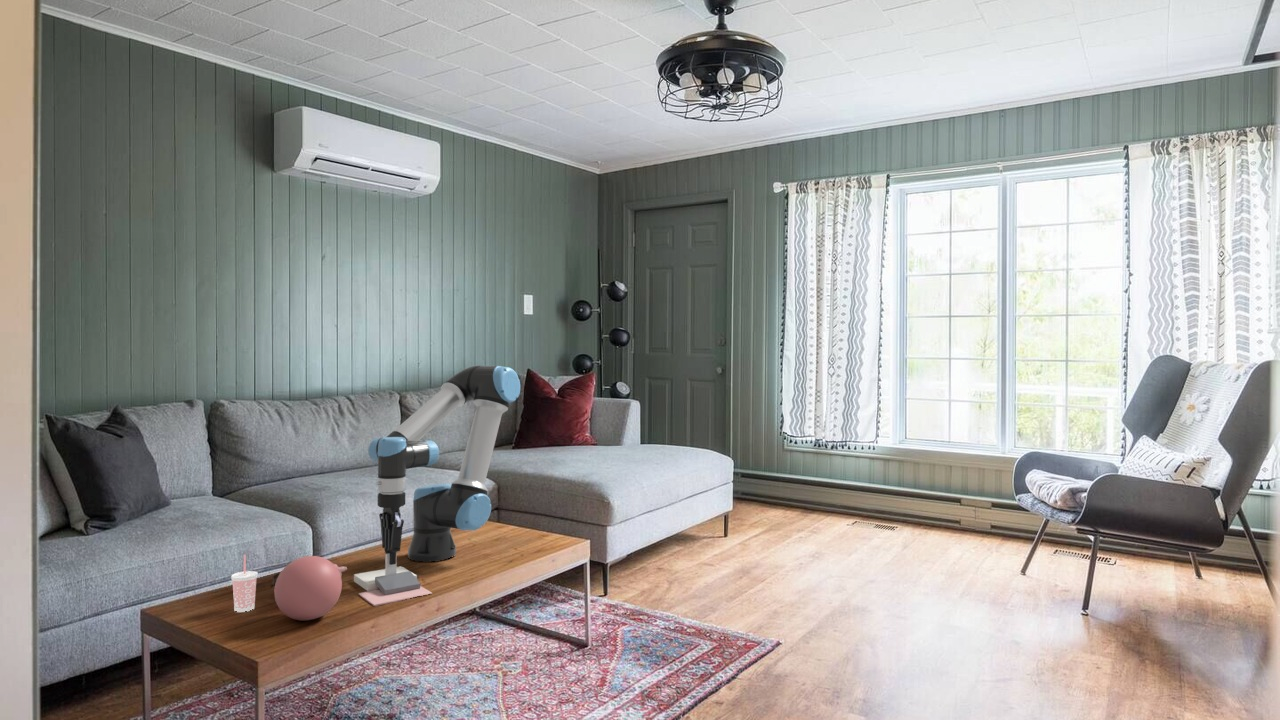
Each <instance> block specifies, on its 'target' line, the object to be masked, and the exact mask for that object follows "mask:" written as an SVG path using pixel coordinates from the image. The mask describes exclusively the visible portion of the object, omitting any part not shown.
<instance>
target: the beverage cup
mask: <svg viewBox="0 0 1280 720" xmlns="http://www.w3.org/2000/svg"><path fill="white" fill-rule="evenodd" d="M246 556H247V555H246V554H243V571H239V572H235V573H233V574H232V575H231V577H230V579H231V581H232V591H233V609H234V612H235V611H237V612H236V613H246V612H245V611H247V612H250V610H251V611H253V610H255V604H256V603H255V602H256V591H257V578H258V574H259V573H258V571H253V570H248V571H247V569H246V568H247V566H246V563H247V562H246V561H247V558H246ZM252 609H253V610H252Z"/></svg>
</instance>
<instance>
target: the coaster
mask: <svg viewBox="0 0 1280 720" xmlns="http://www.w3.org/2000/svg"><path fill="white" fill-rule="evenodd" d="M411 572H412V571H410V570H409V571H407V572H401V573H396V574H390V575H384V576H379V577H375V583H376V584H377V586H378V587H379V588H380V590H381V591H382V592H383V594H384V595H389V594H395V593H400V592H405V591H410V590H415V589H420V586H421V582H420V581H419V579H418V578H417V579H416V577H415V576H414V575H413V574H412V573H413V572H412V573H411Z"/></svg>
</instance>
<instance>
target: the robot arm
mask: <svg viewBox="0 0 1280 720" xmlns="http://www.w3.org/2000/svg"><path fill="white" fill-rule="evenodd" d="M520 394H521V380H520V379H519V376H518V373H517V372H516V371H515V370H514V369H513V368H511V367H508V366H502V365H496V366H494V365H493V366H492V365H491V366H490V365H474V366H469V367H467V368H464V369H461V371H459V372H457V373H456V374H454V375H453V376H451V377H450V378H449V379H447V380H446V381H445V382H444V383H443V384H442V385H441V386H440V390H439V391H438V392H437V393H435V394H434V396H433V397H431V398H430V399H429V400H428V401H427V402H425V403H424V404H423V405H422V406H421V407H419V408H418V409H416V411H415V412H414V413H412V414H411V415H410V416H409V417H408V418H407V419H406V420H404V421H403V422H402V423H401V424H400V425H398V426H397V427H396V428H395V429H394V430H393V431H391V432H390V433H389V434H388V435H386V436H385V437H383V436H382V437H377V438H374V439H373V440H372V441H371V442H370V443H369V446H368V449H367V451H368V457H369V458H370V459H371V460H372V461H373V462H376V463H377V481H376V483H375V484H376V485H377V492H378V494H377V506H378V507H379V508H381V509H382V513H381V512H380V513H378V516H379V521H380V531H381V546H382V549H383V550H384V553H385V556H384V557H385V558H384V561H385V562H384V567H385V568H384V569H385V575H390V574H396V567H398V566H397V563H398V562H397V561H398V560H397V559H398V558H397V556H398V555H397V553H398V552H401V544H402V537H403V536H402V535H403V534H402V533H403V527H404V524H405V520H404V519H401V512H400V511H401V510H400V508H401V507H404V506H405V505H406V493H405V491H406V490H407V485H406V484H407V483H406V482H407V475H406V473H407V470H408V469H413V468H423V467H428V466H431V465H434V464H436V463H437V461H438V460H439V457H440V449H439V447H438V444H437V443H436V442H434V441H433V440H431V439H429V440H425V439H423V437H424V436H426V435H427V434H428V433H429V432H430V431H431V430H433V428H435V426H437V425H438V424H439V423H440V422H441V421H443V420H444V419H445V418H446V417H447V416H448V415H450V413H452V412H453V411H454V410H455V409H456V408H461V407H463V405H465V404H466V403H468V402H471V401H473V404H474V406H475V407H476V408H475V409H476V410H475V412H474V416H473V420H472V424H471V428H470V431H469V435H468V439H467V442H466V447H465V451H464V454H463V459H462V461H461V467H460V470H459V474H458V478H457V479H456V480H455V481H453V482H451V484H450V483H440V484H438V483H437V484H430V485H424V486H420V487H417V488H416V489H415V490H414V491H413V500H412V502H413V509H412V510H413V534H412V537H411V540H410V543H409V546H408V551H407V558H409V560H410V559H411V560H410V561H413V560H415V561H414V562H418V561H423V562H422V563H431V561H435V562H440V561H439V560H442V561H445V560H444V559H447V558H450V557H452V556H454V555H455V554H456V555H457V548H456V544H455V541H454V538H453V535H452V532H451V531H452V530H451V529H455V530H460V531H477V530H479V529H480V528H481V527H484V525H485V524H486V523H487V521H488V520H489V517H490V516H491V511H492V504H491V499H490V497H489V496H488V492H489V490H488V488H487V487H486V485H485V483H486V480H487V476H488V471H489V468H490V464H491V460H492V456H493V451H494V449H495V444H496V440H497V435H498V433H499V427H500V424H501V420H502V416H503V414H504V413H505V412H508V410H509V406H510V403H513V402H516V400H517V399H518V398H519V396H520ZM421 439H423V440H421ZM456 555H455V556H456ZM455 556H454V557H455ZM450 559H451V558H450ZM447 560H448V559H447Z"/></svg>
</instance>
